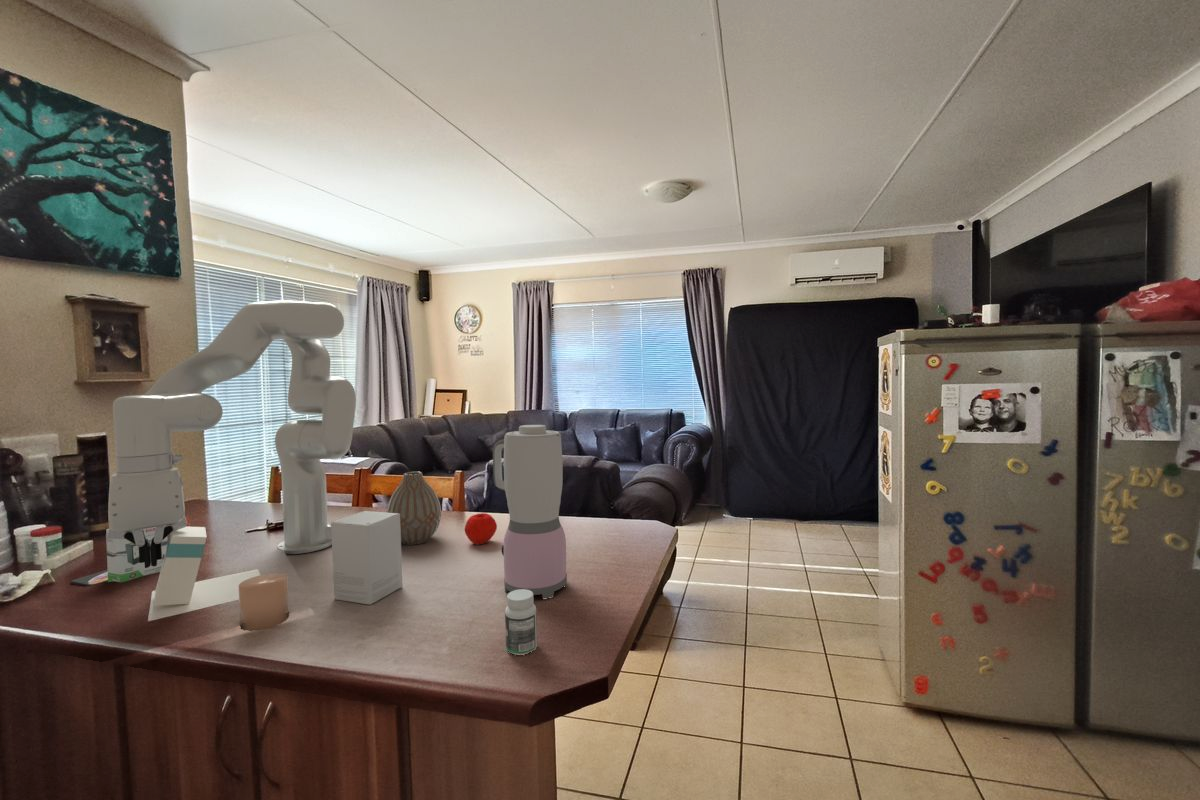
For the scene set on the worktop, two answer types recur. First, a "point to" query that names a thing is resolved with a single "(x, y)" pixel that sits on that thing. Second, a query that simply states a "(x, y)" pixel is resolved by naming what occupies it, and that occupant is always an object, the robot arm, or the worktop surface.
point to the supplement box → (366, 556)
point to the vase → (415, 509)
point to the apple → (480, 528)
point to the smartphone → (92, 579)
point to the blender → (532, 509)
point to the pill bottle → (521, 622)
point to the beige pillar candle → (263, 601)
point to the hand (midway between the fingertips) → (151, 564)
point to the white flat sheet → (204, 595)
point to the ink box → (130, 558)
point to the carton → (180, 566)
